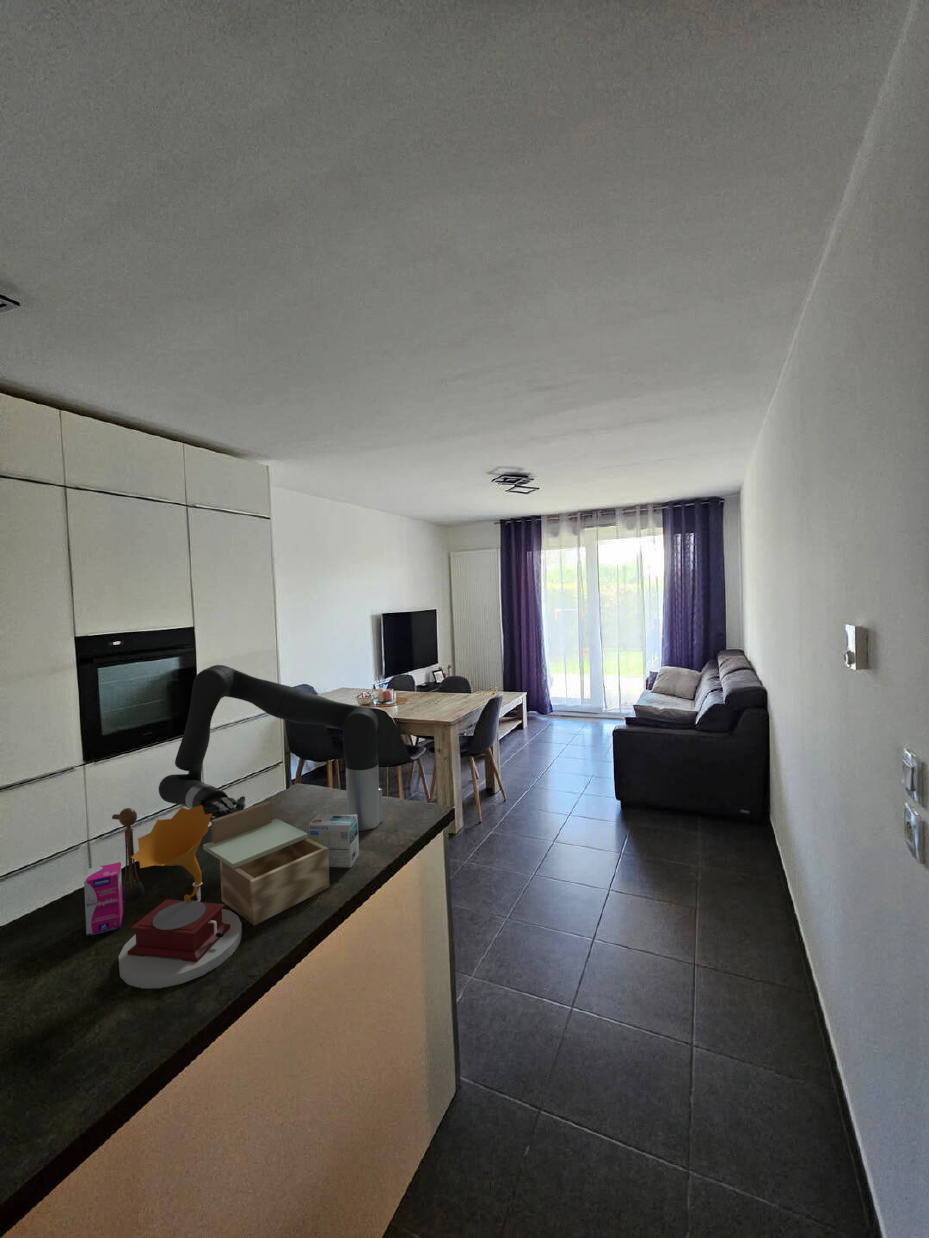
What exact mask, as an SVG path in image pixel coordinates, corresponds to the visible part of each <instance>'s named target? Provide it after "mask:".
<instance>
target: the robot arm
mask: <svg viewBox="0 0 929 1238" xmlns="http://www.w3.org/2000/svg"><path fill="white" fill-rule="evenodd" d="M225 697H226V698H233V699H237V700H241V701H245V702H248V703H250V704H251V705H253V706H255V707H256V708H258V709H259V710H262V711H263V712H264V713H266V714H268V715H270V716H272V717H275V718H277V719H281V720H285V721H287V722H292V723H295V724H306V725H322V726H329V727H332V728H336V729H338V730H341V731H342V742H343V743H342V746H343V758H344V762H345V783H346V785H345V787H346V814H357V819H358V832H361V831H362V832H363V831H370V830H372V829H376V828H377V827H379V825H381V823H382V822H384V817H383V816H384V815H383V813H384V812H383V789H382V788H381V787H380V776H379V774H380V773H379V755H378V744H377V743H378V742H377V729H378V727H379V719H378V716H377V714H376V713H375V712H374V710H372V709H370V708H368V707H366V706H359V705H353V704H348V703H343V702H339V701H335V700H332V699H329V698H326V697H323V696H321V695H318V694H315V693H312V692H309V691H305V690H303V689H300V688H296V687H293V686H289V685H285V684H281V683H277V682H273V681H270V680H266V679H261V678H258V677H255V676H251V675H249V674H247V673H244V672H242V671H239V670H237V669H235V668H232V667H229V666H227V665H223V664H222V665H221V664H216V665H212V666H209V667H207V668H205V669H203V670H201V671H199V673H197V674H196V676H195V677H194V680H193V683H192V689H191V695H190V704H189V709H188V710H189V711H188V715H187V720H186V723H185V724H186V725H185V728H184V732H183V735H182V738H181V741H180V743H179V747H178V751H177V753H176V757H175V760H174V765H175V767H177V769H179V770H182V771H186V772H188V773H184V774H183V773H179V774H178V773H177V774H169V775H167V776H165V777H163V778H162V779H161V781H160V782H159V785H158V793H159V797H160V798H161V799H162V800H163V801H165V802H166V803H169V804H170V803H171V804H174V805H180V806H184V807H186V809H191V808H194V807H197V806H200V805H202V807H203V810H204V813H205V815H206V814H211V813H212V816H211V819H210V822H209V823H211V820H213V819H216V818H219V817H222V816H225V815H228V814H231V813H234V812H237V811H240V810H243V809H246V797H245V796H243V795H241V796H239V798H237V799H235V798H234V797H229V796H228V795H227V793H226V792H225V791H223V790H222V789H220V788H218V787H215V786H213V785H211V784H208V783H204V782H202V775H203V773H202V770H203V764H204V759H205V757H206V753H207V750H208V748H209V744H210V738H211V725H212V724H211V723H212V718H213V716H214V713H215V711H216V709H217V706H218V704H219V703H220V701H221V700H222V699H223V698H225Z"/></svg>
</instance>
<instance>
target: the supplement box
mask: <svg viewBox="0 0 929 1238" xmlns="http://www.w3.org/2000/svg"><path fill="white" fill-rule="evenodd" d="M83 883H84V884H83V885H84V886H83V887H84V904H85V905H84V906H85V907H84V908H85V909H84V910H85V929H86V931H85V933H86V937H91V936H94V935H99V934H102V933H105V932H110V931H113V930H114V931H115V930H118V929H121V926H122V922H123V917H124V904H123V903H124V902H123V899H122V888H123V880H122V862H114V863H109V864H105V865H98V866H95V867H90V868H88V869H87V872H86V875H85V879H84V882H83Z"/></svg>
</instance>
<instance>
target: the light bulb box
mask: <svg viewBox="0 0 929 1238" xmlns="http://www.w3.org/2000/svg"><path fill="white" fill-rule="evenodd" d="M307 827H308V829H307V830H308V838H309V839H311V840H313V841H315V842H317V843H319V844H321V845H323V846H325V847H327V848H328V858H329V868H352V867H353V865H354V864H355V862H356V861H357V859H358V857H360V846H359V844H360V843H359V841H360V840H359V831H358V819H357V814H347V813H345V814H343V813H342V814H335V813H333V814H330V813H329V814H328V813H325V814H323V813H317V815H316V816H314V818H313V819H312V820H311V821H310V822H309V823H308V825H307Z"/></svg>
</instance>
